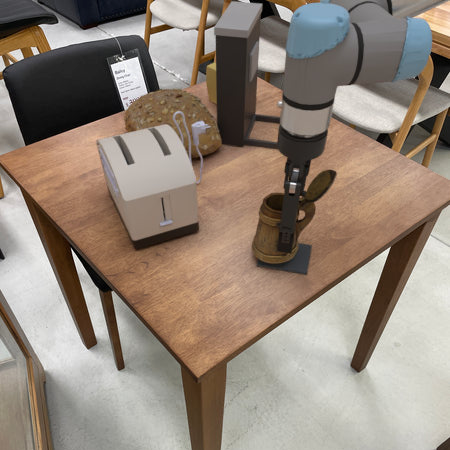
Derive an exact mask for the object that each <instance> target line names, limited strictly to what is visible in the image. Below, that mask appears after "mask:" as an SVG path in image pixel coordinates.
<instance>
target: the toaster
mask: <svg viewBox="0 0 450 450" xmlns="http://www.w3.org/2000/svg"><path fill="white" fill-rule="evenodd" d="M177 114H181V115H182V116H183V123H184V126H185V129H186V132H187V135H188V139H189V157H188V155H187V152H186V150H185V148H184V146H183V143H184V140H183V135H182V132H181V130H180V128H179V126H178V124H177V122H176V120H175V116H176V115H177ZM173 120H174V122H175V125H176V126H177V128H178V131H179V133H180V135H181V140H182V142H181V140H180V138H179V137H178V135H177V134H176V132H175V131H174V130H173V129H172V128H171V127H170V126H169V125H167V124H164V125H160V126H156V127H151V128H147V129H142V130H138V131H134V132H129V133H128V132H125V133H122V134H121V133H120V134H115V135H112V136H108V137H103V138H98V139H96V140H95V144H96V148H97V152H98V155H99V160H100V164H101V168H102V171H103V176H104V179H105V183H106V187H107V191H108V194H109V196H110V198H111V201H112V203H113V205H114V207H115V209H116V212H117V214H118V216H119V218H120V220H121V222H122V225H123V227H124V228H125V232H126V233H127V236H128V238H129V240H130V242H131V244H132V247H133V248H134V249H136V250H139V249H142V248H145V247H146V248H147V247H149V246H152V245H156V244H159V243H162V242H165V241H169V240H173V239H176V238H179V237H182V236H186V235H189V234H193V233H196V232H199V231H200V223H199V222H200V220H199V204H198V189H197V185H198V184H199V183H201V182H202V180H203V175H202V171H203V164H204V161H203V160H204V158H203V156H201V154H200V152H199V149H198V145H199V135H200V134H204V133H206V128H210V127H211V126H208V124H204V122H203V121H199V122H196V123H194V124H192V125H191V127H192V134H193V139H194V145H196V149H197V152H198V154H199V156H200V157H199V158H200V166H199V167H200V168H199V180H198V181H197V177H196V176H197V175H196V174H195V171H194V167H193V161H192V158H191V140H190V135H189V131H188V129H187V126H186V123H185V116H184V114H183V113H182V112H180V111H178V112H176V113H175V114H174V115H173ZM205 126H207V127H205Z"/></svg>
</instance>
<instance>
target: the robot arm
mask: <svg viewBox="0 0 450 450" xmlns="http://www.w3.org/2000/svg"><path fill="white" fill-rule="evenodd" d="M448 2H450V0H320V1H319V2H311V3H305V4H303V5H301V6H299V7H298V8H296V9H295V10H294V12H293V13H292V15H291V18H290V21H289V27H288V33H287V40H286V44H285V60H284V73H283V85H282V94H281V95H282V96H281V97H282V98H281V100H278V102H277V103H276V107H277V108H279V109H280V115H279V117H280V123H279V125H278V132H277V141H276V142H277V147H278V149H277V150H278V152H279V153H280V154H281V155H282V156H284V157H286V161H285V164H284V181H283V189H284V190H283V193H284V199H283V206H282V214H281V221H280V223H278V222H277V224H276V227H279V239H278V247H277V252H283V253H289V254H291V253H292V247H293V241H294V234H295V228H296V224H295V222H296V217H297V211H298V205H299V199H300V198H301V197H302V196H303V195H304V194H305V193H306V191H307V190H305V187H306V183H307V182H306V181H307V177H308V176H309V174H310V169H311V163H312V160H315V159H318V158H320V157H321V156H322V155H323V154H324V152H325V150H326V149H325V148H326V144H327V139H328V134H329V128H330V126H331V120H332V115H333V110H334V105H335V100H336V99H335V97H336V93H337V89H338V87H346V86H356V85H369V84H380V83H381V84H383V83H393V84H394V83H395V82H398V81H405V80H411V79H414V78H416V77H418V76H419V75H420V74H421V73H423V71H424V70H425V68H426V66H427V64H428V61H429V58H430V55H431V52H432V50H433V49H432V48H433V33H432V29H431V26H430V23H429V22H427V20H426V19H424V18H422V17H418V16H420V15H422V14H424V13H427V12H428V11H431V10H432V9H435V8H437V7H439V6H441V5H443V4H445V3H448ZM299 217H300V216H299ZM299 217H298V218H297V220H299Z"/></svg>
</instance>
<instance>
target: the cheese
mask: <svg viewBox="0 0 450 450" xmlns="http://www.w3.org/2000/svg"><path fill="white" fill-rule="evenodd" d="M205 71H206V72H205V81H206V90H207V91H206V92H207V95H208V101H209V102H211V103H213V104H215V105H217V94H216V61H215V62H213V63H212V62H211V63H210V64H208V65H207V66H206V70H205Z"/></svg>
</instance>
